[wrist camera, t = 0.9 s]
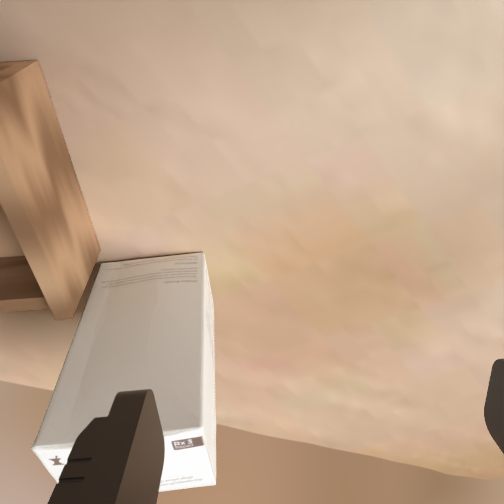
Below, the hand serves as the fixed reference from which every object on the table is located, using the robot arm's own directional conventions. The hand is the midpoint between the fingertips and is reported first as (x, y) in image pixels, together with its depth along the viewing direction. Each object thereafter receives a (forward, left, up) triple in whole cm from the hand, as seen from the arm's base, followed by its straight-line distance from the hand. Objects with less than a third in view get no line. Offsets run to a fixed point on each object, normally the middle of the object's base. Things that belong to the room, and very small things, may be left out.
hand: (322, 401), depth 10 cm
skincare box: (+12, -8, -19) cm, 24 cm away
